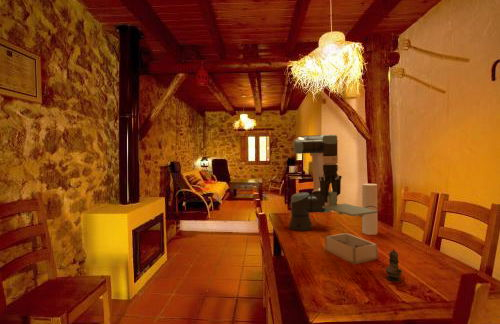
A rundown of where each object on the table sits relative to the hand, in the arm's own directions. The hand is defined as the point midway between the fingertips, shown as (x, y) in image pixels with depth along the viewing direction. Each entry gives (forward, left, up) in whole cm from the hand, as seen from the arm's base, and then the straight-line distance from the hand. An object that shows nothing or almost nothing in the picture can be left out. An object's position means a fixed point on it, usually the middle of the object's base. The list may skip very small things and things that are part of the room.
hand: (330, 208), depth 143 cm
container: (-9, +37, -21) cm, 43 cm away
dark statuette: (+40, -2, -21) cm, 45 cm away
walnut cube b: (+17, +3, -19) cm, 26 cm away
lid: (+10, 0, 0) cm, 10 cm away
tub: (+13, +1, -21) cm, 24 cm away
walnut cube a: (+8, -2, -19) cm, 21 cm away
